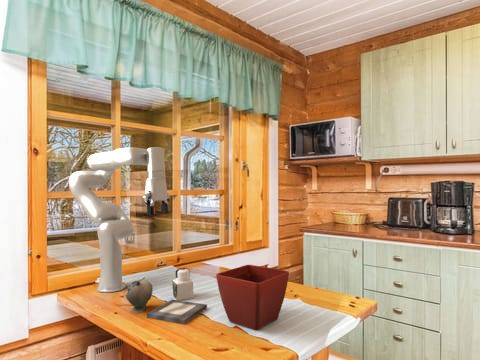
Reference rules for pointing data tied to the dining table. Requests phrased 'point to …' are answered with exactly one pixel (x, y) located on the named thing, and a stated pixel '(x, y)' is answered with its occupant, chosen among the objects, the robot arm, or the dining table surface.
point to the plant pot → (252, 294)
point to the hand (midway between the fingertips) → (157, 214)
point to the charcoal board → (177, 311)
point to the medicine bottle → (182, 284)
